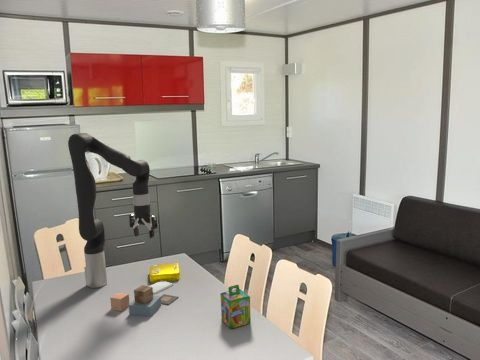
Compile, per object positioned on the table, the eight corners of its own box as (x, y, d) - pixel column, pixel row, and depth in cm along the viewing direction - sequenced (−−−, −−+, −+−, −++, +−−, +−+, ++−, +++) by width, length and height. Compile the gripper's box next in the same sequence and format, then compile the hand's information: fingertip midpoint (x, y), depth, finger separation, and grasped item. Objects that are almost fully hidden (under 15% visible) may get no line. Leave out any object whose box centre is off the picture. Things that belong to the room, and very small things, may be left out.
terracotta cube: (111, 309, 181) (110, 297, 180) (119, 303, 186) (118, 292, 185) (121, 311, 179) (120, 299, 178) (129, 305, 184) (128, 294, 183)
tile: (153, 302, 186) (153, 301, 186) (163, 294, 193) (163, 293, 193) (168, 305, 183) (168, 304, 183) (178, 297, 190) (178, 296, 190)
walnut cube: (134, 302, 177) (133, 290, 177) (143, 297, 182) (142, 285, 181) (145, 304, 175) (144, 292, 174) (153, 299, 180) (152, 287, 179)
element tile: (180, 280, 210) (179, 271, 209) (149, 283, 207) (149, 274, 207) (178, 270, 225) (178, 261, 224) (150, 272, 222) (150, 264, 221)
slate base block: (129, 315, 176) (128, 305, 175) (140, 304, 185) (139, 294, 185) (151, 317, 173) (150, 306, 173) (161, 306, 183) (160, 296, 182)
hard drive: (153, 292, 194) (173, 283, 203) (142, 288, 199) (161, 279, 208) (154, 295, 194) (173, 286, 204) (142, 292, 199) (161, 282, 209)
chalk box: (230, 329, 160) (229, 293, 158) (220, 319, 168) (219, 285, 166) (251, 323, 164) (250, 288, 162) (241, 314, 172) (239, 280, 170)
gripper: (124, 204, 193) (126, 237, 196) (149, 205, 187) (151, 240, 190) (134, 200, 200) (137, 233, 202) (159, 202, 194) (161, 235, 197)
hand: (144, 236), depth 196 cm, fingers open, 8 cm apart
